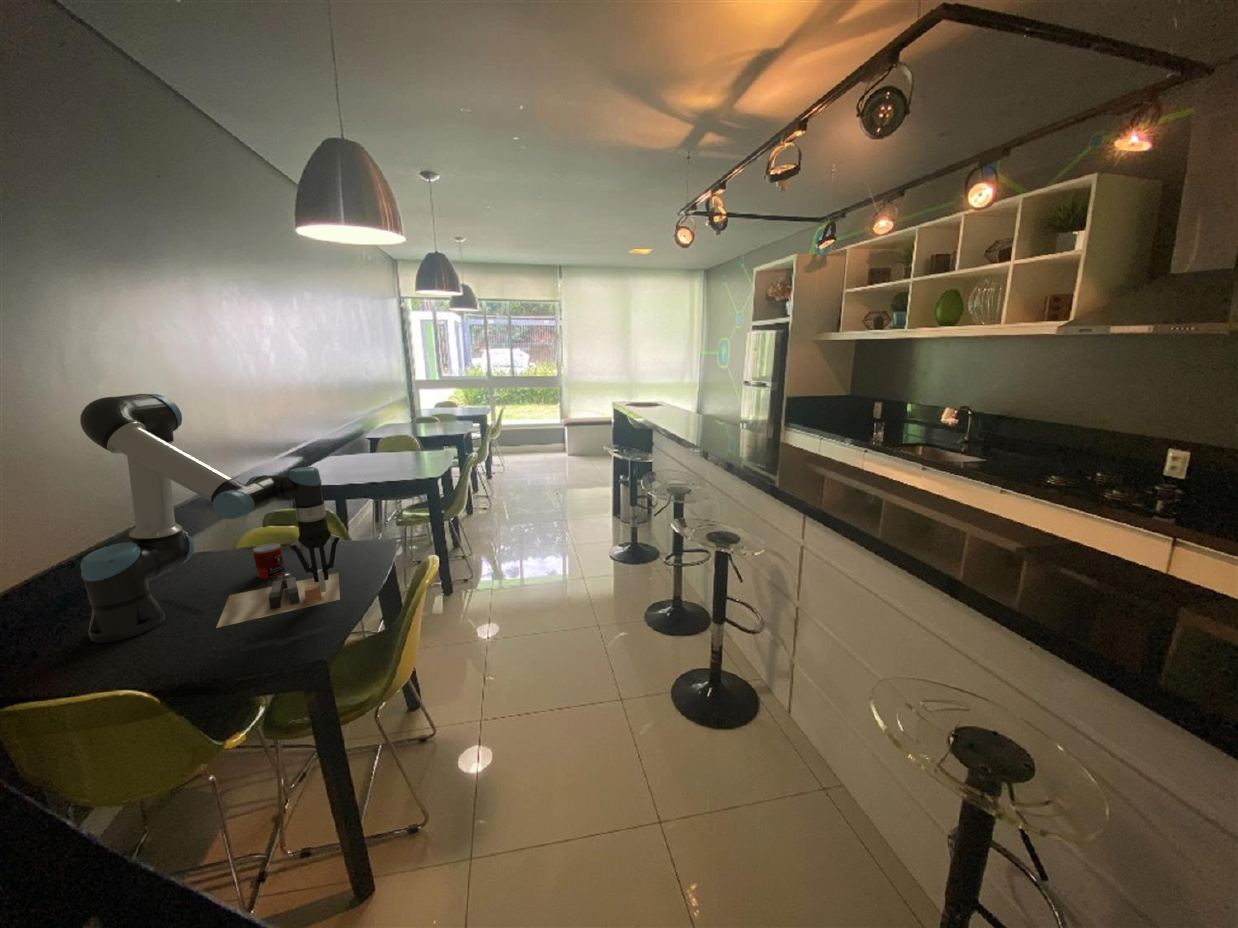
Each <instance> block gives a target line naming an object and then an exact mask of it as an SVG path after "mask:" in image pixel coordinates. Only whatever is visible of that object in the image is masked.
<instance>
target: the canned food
mask: <svg viewBox="0 0 1238 928" xmlns="http://www.w3.org/2000/svg"><path fill="white" fill-rule="evenodd" d="M281 547H282V546H281V544H280V543H278V542H277V543H276V542H272V543H271V542H269V543H264V544H261V545H258V546H255V547H254V548H253V549H252V553H253V557H254V558H253V559H254V563H255V568H256V574H257V578H258V579H265V580H266V579H271V578H276V577H277V576H278V575H279V574H281V573H285V572H286V570H285V569H286V568H285V563H284V557H283V551H282V548H281Z"/></svg>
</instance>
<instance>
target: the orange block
mask: <svg viewBox="0 0 1238 928" xmlns="http://www.w3.org/2000/svg"><path fill="white" fill-rule="evenodd" d="M305 597H306V602H307V601H311V600H316V599H320V598H322V593H321V592H320V585H319V584H318V585H313V586H308V587H305Z"/></svg>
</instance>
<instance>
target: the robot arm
mask: <svg viewBox="0 0 1238 928" xmlns="http://www.w3.org/2000/svg"><path fill="white" fill-rule="evenodd" d="M79 419H80V420H79V423H80V426H81V430H82V431H83V432H84V434H85V435H86V436H87V438H89V439H90V440H91V441H92V442H94V443H95V444H96V445H98V446H99V447H101V448H103V449H104V450H106V451H108V452H110V453H112V454H123V455H124V456H127V457H126V458H127V467H128V473H129V484H130V491H131V498H132V507H133V509H132V510H133V515H134V516H133V517H134V523H135V527H134V528H133V529H132V530H131V531H130V532H129V533H128V536H129V542H127V541H126V542H119V543H114V544H110V545H109V546H104V547H101V548H98V549H97V550H94V551H92V552H90V553H88V554H86V555H85V556H84V557H83V558H82V559H81V562H80V564H79V565H80V570H81V571H80V572H81V573H80V575H81V578H82V581H83V583H84V587H85V590H86V593H87V597H88V599H89V604H90V606H91V617H90V622H89V628H88V636H89V639H90V641H91V642H93V643H99V644H101V643H102V644H104V643H111V642H118V641H124V640H126V639H130V638H133V637H136V636H139V635H142V634H144V633H146V632H148V631H151V630H153V629H155V628H157V627H158V626H160V625H161V624H162V623H163V622H164V621H165V620H166V615H165V612H164V609H163V608H162V607H161V605H160V604H159V603H158V601H156V599H155V598H154V597H153V596H152V593H151V591H150V587H149V582H150V581H152V580H154V579H156V578H158V577H160V576H163V575H164V574H166V573H168V572H170V571H173V570H175V569H178V568H179V567H181V566H182V565H183V564H185V563H186V562H188V561H189V560H190V558H191V557H192V555H193V553H194V551H195V542H194V540H193V537H192V536H190V535H189V533H188V532H187V531H185V530H184V529H183V526H182V525H180V524H179V523H177V522H176V518H175V511H174V510H175V509H174V499H173V497H174V496H173V490H172V482H174V483H177V484H178V485H180V486H182V487H184V488H186V489H187V490H189V491H190V492H193V493H194V494H196V495H198V496H200V497H202V498H204V499H205V500H208V501H210V502H211V503H212V507H213V511H215V512H216V513H217V515H218V516H219V517H221V518H222V519H225V520H226V519H227V520H235V519H237V518H240V517H241V518H242V517H245V516H247V515H249V514H250V513H252V512H254V511H257V510H258V509H260V508H263V507H265V506H267V505H270V504H272V503H274V502H279V501H280V502H282V501H283V502H284V501H285V502H286V501H288V502H289V501H293V504H294V510H295V516H296V520H298V521H297V528H298V534H299V536H298V539H297V540H296V541H295V542H292V543H291V544H290V549H292V551H294V552H295V553H296V555H297V558H298V560H299V562H300V563H301V566H302V567H303V569H304V571H305V573H311V574H313V578H314V581H315V582H319V585H320V592H326V584H325V580H328V579H329V576H328V575H329V569H332V568H334V566H335V557H336V552H337V551H336V550H337V544H338V543H339V541H340V536H339V535H338V534H336V535H335V534H332V533H331V531H330V530H329V526H328V525H329V524H328V519H327V516H326V515H327V513H326V506H325V505H326V504H325V500H324V495H323V487H322V479H321V475H320V471H319V469H318V468H317V467H315V466H305V467H304V466H303V467H301V466H300V467H295V468H293V469H291V470H289V473H288V475H281V474H280V475H267V474H263V475H255V476H251V477H250V478H249V479H248V481H247V482H245V484H243V483H241V482H239V481H237V480H235V479H234V478H232V477H230V476H228V474H225V473H223V472H221V471H219V470H218V469H216V468H214V467H213V466H211V465H209V464H207V463H206V462H203V461H202V460H200V459H198V458H196V457H194V456H193V455H191V454H189V453H187V452H185V450H184V451H183V450H182V449H180V448H178V447H177V446H175V445H173V443H174V441H175V440H174V438H175V437H174V432H175V431H176V430H178V429H179V427H180V426H181V425H182V422H183V415H182V412H181V410H180V407H178V405H177V404H176V403H175V402H173V401H172V400H171V399H170V398H169V397H166V396H165V395H162V394H157V393H137V394H129V395H119V396H107V397H101V398H97V399H94V400H93V401H91V402H89V403H88V404H87V405H85V407H84V408H83V410H82V411H81V414H80V417H79ZM329 540H330V542H331V546H330V551H329V552H330V554H329V561H328V563H327V558H326V551H325V546H326V544H327V542H328V541H329ZM301 546H304V547H305V548H306V549H308V551H309V555H310V557H309V558H310V563H311V566H310V563H309V562H308V560H307V558H306V556H305V554H304V552H303V550H302V548H301ZM316 548H317V549H318V550H319V551H318V552H319V555H320V556H319V557H320V562H321V567H322V568H321V569H320V568H319V569H318V564H317V558H316V557H317V556H316V550H315V549H316Z"/></svg>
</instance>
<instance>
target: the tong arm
mask: <svg viewBox="0 0 1238 928" xmlns="http://www.w3.org/2000/svg"><path fill="white" fill-rule="evenodd" d="M286 580H287V587H288V595H289V601H290V605H292V604H296V603H300V599H299V593H298V588H297V584H296V581H297V579H296V576H294V577H293V576H291V578H288V579H286Z"/></svg>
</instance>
